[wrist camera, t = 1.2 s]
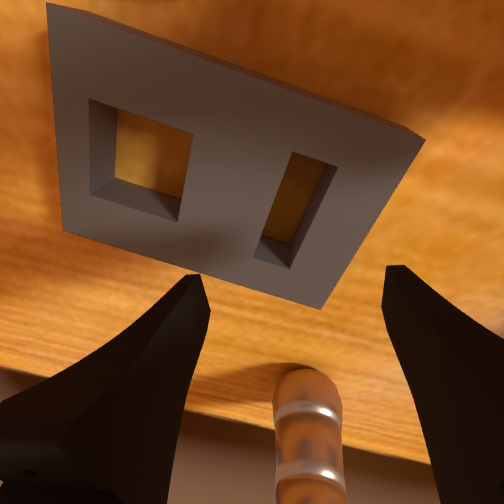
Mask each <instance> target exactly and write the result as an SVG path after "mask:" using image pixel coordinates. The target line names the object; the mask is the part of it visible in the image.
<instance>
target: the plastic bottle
mask: <svg viewBox="0 0 504 504" xmlns="http://www.w3.org/2000/svg"><path fill="white" fill-rule="evenodd" d="M272 405H273V417H274V424H275V432H276V480H275V483H276V488H275V493H274V504H348V500H347V496H346V494H345V490H346V488H345V482H344V476H343V459H342V439H341V430H342V402H341V399H340V396H339V392H338V389H337V387H336V385H335V384H334V383H333V382H332V381H331V379H330V378H329V377H328V376H326V375H325V374H324V373H321V372H319V371H316V370H313V369H295V370H292V371H289V372H287V373H286V374H284V375H283V376H282V377H281V379H280V380H279V381H278V382H277V384H276V387H275V391H274V396H273V400H272Z"/></svg>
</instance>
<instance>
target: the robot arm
mask: <svg viewBox="0 0 504 504" xmlns="http://www.w3.org/2000/svg"><path fill="white" fill-rule="evenodd" d="M381 308H382V312H383V316H384V320H385V324H386V328H387V332H388V334H389V337H390V339H391V342H392V345H393V347H394V350H395V352H396V355H397V357H398V360H399V362H400V365H401V367H402V370H403V372H404V375H405V377H406V380H407V382H408V385H409V388H410V391H411V393H412V396H413V399H414V403H415V406H416V410H417V413H418V417H419V420H420V424H421V427H422V431H423V435H424V438H425V442H426V446H427V450H428V453H429V457H430V461H431V465H432V469H433V473H434V477H435V482H436V486H437V490H438V494H439V497H440V502H441V504H504V339H503V338H501V337H499V336H498V335H496V334H495V333H493V332H491V331H490V330H488V329H487V328H485V327H484V326H482V325H481V324H479V323H478V322H476V321H475V320H473V319H472V318H470V317H469V316H468V315H466V314H465V313H463V312H462V311H461V310H459V309H458V308H456V307H455V306H454V305H452V304H451V303H450V302H449V301H447V300H446V299H445V298H443V297H442V296H441V295H440V294H438V293H437V292H436V291H435V290H433V289H432V288H431V287H430V286H429V285H427V284H426V283H425V282H424V281H423V280H421V279H420V278H419V277H418V276H417V275H416V274H414V273H413V272H412V271H411V270H410V269H409V268H407V267H406V266H405V265H390V266H386V273H385V281H384V289H383V297H382V305H381ZM210 312H211V310H210V307H209V303H208V300H207V296H206V293H205V290H204V286H203V283H202V279H201V276H200V274H191V275H185V276H184V277H183V278H182V279H181V280H180V281H178V282H177V283H176V284H175V285H174V286H173V287H172V288H171V289H170V290H169V291H168V292H167V293H166V294H165V295H164V296H163V297H162V298H161V299H160V300H159V301H158V302H156V303H155V304H154V305H153V306H152V307H151V308H150V309H149V310H148V311H147V312H145V313H144V314H143V315H142V316H141V317H140V318H138V319H137V320H136V321H135V322H134V323H133V324H131V325H130V326H129V327H128V328H126V329H125V330H124V331H123V332H121V333H120V334H119V335H117V336H116V337H115V338H113V339H112V340H110V341H109V342H108V343H106V344H105V345H103V346H102V347H100V348H99V349H97V350H96V351H94V352H92V353H91V354H89V355H88V356H86V357H85V358H83V359H82V360H80V361H78V362H77V363H75V364H73V365H72V366H70V367H68V368H66V369H65V370H63V371H61V372H59V373H57V374H56V375H54V376H52V377H50V378H48V379H46V380H44V381H43V382H41V383H39V384H37V385H35V386H33V387H30V388H28V389H26V390H24V391H22V392H20V393H18V394H16V395H14V396H12V397H10V398H8V399H5V400H3V401H2V402H1V403H0V480H1V481H3V484H2V485H1V487H0V504H167V499H168V492H169V486H170V479H171V473H172V467H173V460H174V455H175V450H176V444H177V439H178V434H179V429H180V424H181V419H182V415H183V410H184V406H185V401H186V397H187V392H188V389H189V385H190V382H191V379H192V376H193V373H194V370H195V367H196V364H197V361H198V358H199V355H200V352H201V349H202V346H203V343H204V340H205V336H206V333H207V328H208V323H209V318H210Z"/></svg>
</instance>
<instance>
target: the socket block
mask: <svg viewBox="0 0 504 504" xmlns="http://www.w3.org/2000/svg"><path fill="white" fill-rule="evenodd" d="M46 9H47V23H48V36H49V49H50V63H51V76H52V90H53V103H54V117H55V130H56V143H57V157H58V170H59V184H60V197H61V210H62V224H63V231H65V232H68V233H72V234H75V235H78V236H81V237H85V238H88V239H91V240H94V241H98V242H101V243H104V244H107V245H111V246H114V247H117V248H120V249H124V250H127V251H130V252H133V253H137V254H140V255H143V256H146V257H150V258H153V259H156V260H159V261H163V262H166V263H169V264H172V265H176V266H179V267H182V268H185V269H189V270H192V271H195V272H198V273H202V274H205V275H208V276H211V277H215V278H218V279H221V280H224V281H228V282H231V283H234V284H237V285H241V286H244V287H247V288H250V289H254V290H257V291H260V292H263V293H267V294H270V295H273V296H276V297H280V298H283V299H286V300H289V301H293V302H296V303H299V304H302V305H306V306H309V307H312V308H315V309H319V310H321V308H322V307H323V305H324V304H325V302H326V300H327V299H328V297H329V296H330V294H331V292H332V291H333V289H334V287H335V286H336V284H337V283H338V281H339V279H340V278H341V276H342V275H343V273H344V271H345V270H346V268H347V267H348V265H349V263H350V262H351V260H352V258H353V257H354V255H355V254H356V252H357V250H358V249H359V247H360V246H361V244H362V242H363V241H364V239H365V238H366V236H367V234H368V233H369V231H370V229H371V228H372V226H373V225H374V223H375V221H376V220H377V218H378V217H379V215H380V213H381V212H382V210H383V208H384V207H385V205H386V204H387V202H388V200H389V199H390V197H391V196H392V194H393V192H394V191H395V189H396V188H397V186H398V184H399V183H400V181H401V179H402V178H403V176H404V175H405V173H406V171H407V170H408V168H409V167H410V165H411V163H412V162H413V160H414V159H415V157H416V155H417V154H418V152H419V150H420V149H421V147H422V146H423V144H424V142H425V141H426V140H425V139H424V138H422V137H421V136H419V135H418V134H416V133H414V132H413V131H411V130H410V129H408V128H407V127H404V126H401V125H399V124H396V123H393V122H390V121H388V120H385V119H382V118H379V117H377V116H374V115H371V114H368V113H366V112H363V111H360V110H357V109H355V108H352V107H349V106H346V105H344V104H341V103H338V102H335V101H333V100H330V99H327V98H324V97H322V96H319V95H316V94H313V93H311V92H308V91H305V90H302V89H300V88H297V87H294V86H291V85H289V84H286V83H283V82H280V81H278V80H275V79H272V78H269V77H267V76H264V75H261V74H258V73H256V72H253V71H250V70H247V69H245V68H242V67H239V66H236V65H234V64H231V63H228V62H225V61H223V60H220V59H217V58H214V57H212V56H209V55H206V54H203V53H201V52H198V51H195V50H192V49H190V48H187V47H184V46H181V45H179V44H176V43H173V42H170V41H168V40H165V39H162V38H159V37H157V36H154V35H151V34H148V33H146V32H143V31H140V30H137V29H135V28H132V27H129V26H126V25H124V24H121V23H118V22H115V21H113V20H110V19H107V18H104V17H102V16H99V15H96V14H93V13H91V12H88V11H85V10H80V9H75V8H70V7H66V6H61V5H56V4H52V3H47V2H46ZM117 108H118V109H121V110H124V111H127V112H130V113H133V114H136V115H139V116H142V117H145V118H148V119H151V120H154V121H156V122H159V123H162V124H165V125H168V126H171V127H174V128H177V129H180V130H183V131H186V132H189V133H191V134H194V135H193V140H192V146H191V151H190V157H189V162H188V168H187V173H186V179H185V184H184V190H183V195H182V199H179V198H176V197H173V196H170V195H167V194H164V193H160V192H157V191H154V190H151V189H148V188H145V187H142V186H139V185H136V184H133V183H130V182H127V181H124V180H120V179H117V178H115V151H116V124H117ZM292 152H296V153H299V154H302V155H305V156H307V157H310V158H313V159H316V160H319V161H322V162H325V163H327V164H326V166H325V168H324V170H323V172H322V175H321V177H320V179H319V181H318V183H317V186H316V188H315V190H314V192H313V195H312V197H311V199H310V201H309V203H308V206H307V208H306V210H305V212H304V214H303V217H302V219H301V221H300V223H299V225H298V228H297V230H296V232H295V234H294V236H293V239H292V241H291V243H290V245H289V244H286V243H283V242H280V241H277V240H274V239H270V238H267V237H264V236H261V234H262V231H263V229H264V226H265V223H266V221H267V218H268V215H269V213H270V210H271V207H272V205H273V202H274V199H275V197H276V194H277V192H278V189H279V186H280V184H281V181H282V178H283V176H284V173H285V170H286V168H287V165H288V162H289V160H290V157H291V154H292Z"/></svg>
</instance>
